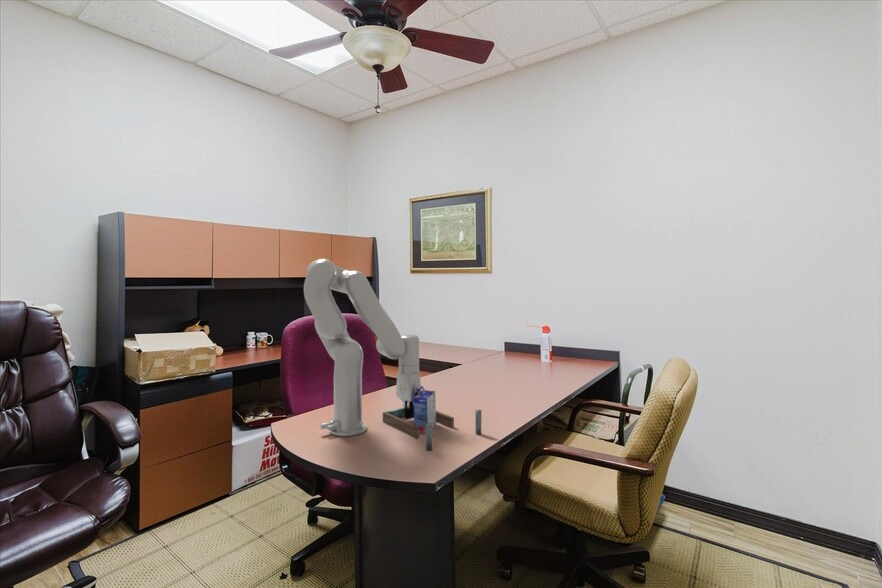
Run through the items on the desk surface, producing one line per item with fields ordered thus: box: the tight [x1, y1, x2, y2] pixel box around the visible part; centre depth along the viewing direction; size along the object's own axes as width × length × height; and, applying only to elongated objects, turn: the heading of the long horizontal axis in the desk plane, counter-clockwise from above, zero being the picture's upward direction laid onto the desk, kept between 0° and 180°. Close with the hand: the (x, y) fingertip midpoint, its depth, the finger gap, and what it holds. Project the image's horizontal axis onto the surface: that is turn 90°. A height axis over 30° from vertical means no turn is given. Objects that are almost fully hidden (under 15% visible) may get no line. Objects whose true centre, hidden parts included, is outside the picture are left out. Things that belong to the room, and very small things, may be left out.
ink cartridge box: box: [413, 385, 437, 434], centre depth 147 cm, size 10×6×14 cm, turn 164°
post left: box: [425, 423, 433, 452], centre depth 128 cm, size 2×2×8 cm
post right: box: [475, 409, 482, 436], centre depth 141 cm, size 2×2×8 cm
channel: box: [382, 407, 455, 439], centre depth 151 cm, size 16×21×4 cm
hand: (409, 417), depth 155 cm, fingers closed
